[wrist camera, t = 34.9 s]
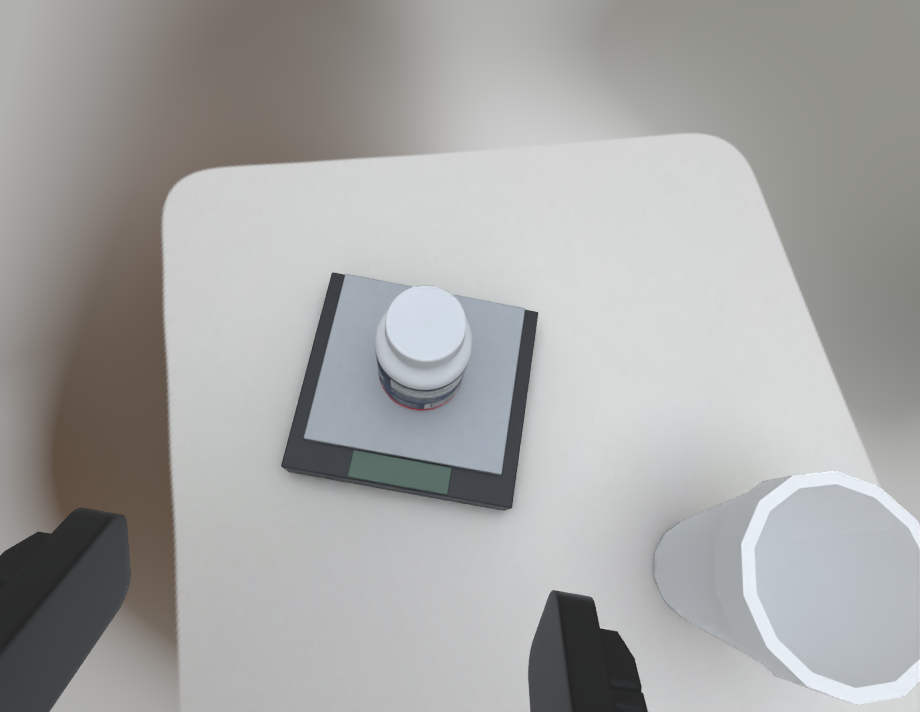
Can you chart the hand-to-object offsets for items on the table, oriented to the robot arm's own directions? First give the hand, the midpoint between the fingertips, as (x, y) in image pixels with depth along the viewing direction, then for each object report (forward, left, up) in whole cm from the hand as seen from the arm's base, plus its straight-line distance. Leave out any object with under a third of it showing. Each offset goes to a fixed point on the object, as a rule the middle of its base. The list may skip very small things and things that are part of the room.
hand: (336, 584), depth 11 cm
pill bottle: (0, +11, -24) cm, 26 cm away
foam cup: (+20, +3, -27) cm, 34 cm away
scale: (0, +11, -27) cm, 29 cm away
